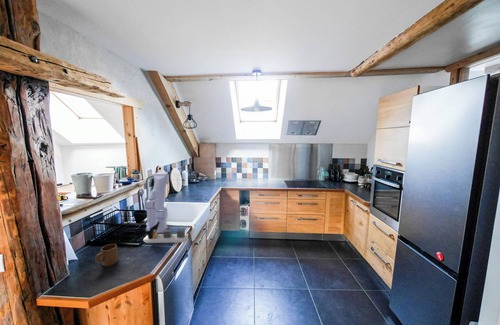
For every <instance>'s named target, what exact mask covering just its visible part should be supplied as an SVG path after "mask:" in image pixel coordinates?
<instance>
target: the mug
mask: <svg viewBox="0 0 500 325" xmlns="http://www.w3.org/2000/svg"><path fill="white" fill-rule="evenodd" d="M118 254H119V253H118V246H117V244H116V243H109V244H106V245H104V246H102V247H101V249H100V252H99V253H97V254H96V255H95V258H94V261H95V262H96V263H98V264H99V263H101V264H102V266H103V267H112V266H114V265H115V264H117V263H118V261H119V255H118ZM100 257H101V258H100Z"/></svg>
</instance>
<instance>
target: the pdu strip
mask: <svg viewBox="0 0 500 325" xmlns="http://www.w3.org/2000/svg"><path fill="white" fill-rule="evenodd" d="M188 238H189V233H186V229H185V228H178V229H177V230H176V233H173V230H172V228H169V229H168V228H167V229H165V230H164V231H163V233H157V238H156V239H149V238H148V235H147V234H146V236H145V237H144V238H143V239H142V241H144V242H145V243H144V244H159V243H160V244H161V243H164V244H165V243H166V244H167V243H168V244H169V243H187V241H188Z"/></svg>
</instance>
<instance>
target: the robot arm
mask: <svg viewBox="0 0 500 325" xmlns="http://www.w3.org/2000/svg"><path fill="white" fill-rule="evenodd" d="M152 177H153V182H154V184H153V188H152V190H150V193H149V196H148V199H147V200H146V201H145V202H144V208H145V212H146V218H147V220H146V223H145V225H146V228H145V229H144V232H145V233H146V236H147V235H148V238H149V239H152V238H153V231H154V230H155V229H157V234H163V231H164V230H165V229H168V228H169V226H167V225H168V224H167V223H168V222H167V221H168V220H167V219H168V208H167V207H166V206H165V200H166V199H165V197H166V188H167V185H168V184H169V181H170V175H169V172H155V173H154V174H153V176H152Z"/></svg>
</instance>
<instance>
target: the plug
mask: <svg viewBox="0 0 500 325" xmlns="http://www.w3.org/2000/svg"><path fill="white" fill-rule="evenodd" d="M157 234H158V233H157V229H155V230H154V231H153V238H152V239H156V238H157Z"/></svg>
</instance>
